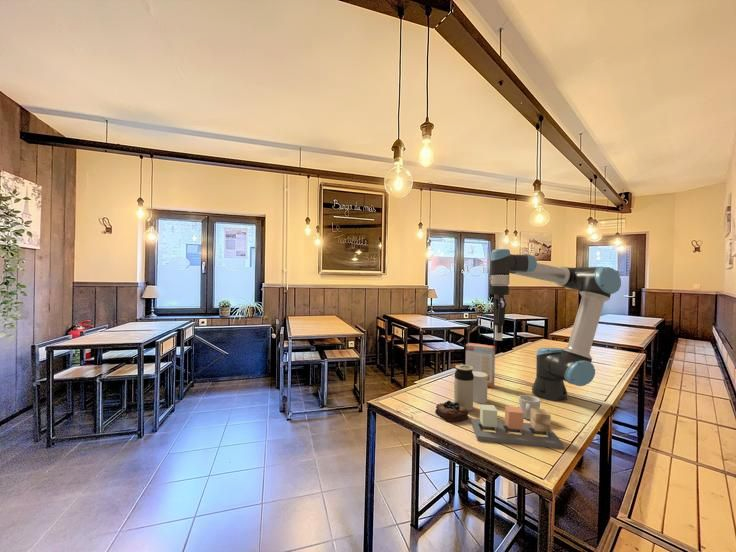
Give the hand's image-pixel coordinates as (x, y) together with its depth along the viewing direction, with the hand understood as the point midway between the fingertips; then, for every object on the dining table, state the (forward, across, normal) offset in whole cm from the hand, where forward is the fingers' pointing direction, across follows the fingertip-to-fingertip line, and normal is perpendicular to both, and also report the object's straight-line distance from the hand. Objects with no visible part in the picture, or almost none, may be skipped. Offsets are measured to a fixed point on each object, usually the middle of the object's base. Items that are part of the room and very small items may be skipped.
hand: (498, 340), depth 139 cm
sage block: (+27, +21, -8) cm, 35 cm away
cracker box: (+31, -34, -1) cm, 46 cm away
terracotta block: (+27, +21, +1) cm, 34 cm away
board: (+30, +21, +1) cm, 37 cm away
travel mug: (+31, 0, -14) cm, 34 cm away
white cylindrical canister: (+31, -11, -6) cm, 33 cm away
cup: (+31, +6, +11) cm, 33 cm away
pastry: (+31, +9, -20) cm, 38 cm away
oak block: (+27, +21, +10) cm, 36 cm away
